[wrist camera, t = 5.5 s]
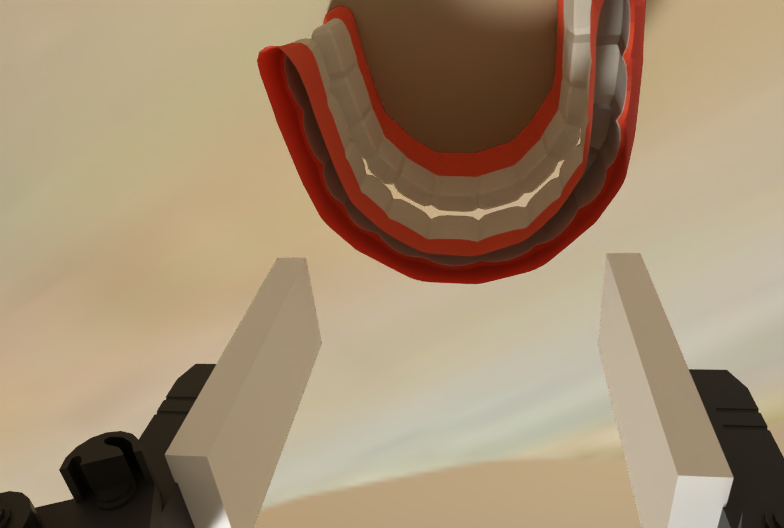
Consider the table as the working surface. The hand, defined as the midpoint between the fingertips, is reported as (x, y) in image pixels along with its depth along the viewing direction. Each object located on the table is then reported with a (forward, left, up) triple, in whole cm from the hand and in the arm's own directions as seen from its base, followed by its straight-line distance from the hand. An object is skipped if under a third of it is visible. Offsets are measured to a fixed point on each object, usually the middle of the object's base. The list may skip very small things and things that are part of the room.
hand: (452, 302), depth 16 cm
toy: (0, +1, -15) cm, 15 cm away
